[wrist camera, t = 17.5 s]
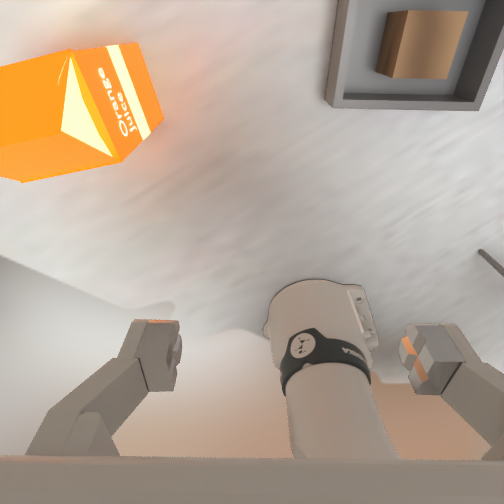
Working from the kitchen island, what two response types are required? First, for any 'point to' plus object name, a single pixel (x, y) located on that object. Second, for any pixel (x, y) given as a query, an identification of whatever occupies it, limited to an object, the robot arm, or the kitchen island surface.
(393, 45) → the walnut block
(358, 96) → the bin
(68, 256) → the kitchen island surface
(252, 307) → the kitchen island surface
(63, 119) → the orange juice
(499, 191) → the kitchen island surface
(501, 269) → the grey tripod stand
